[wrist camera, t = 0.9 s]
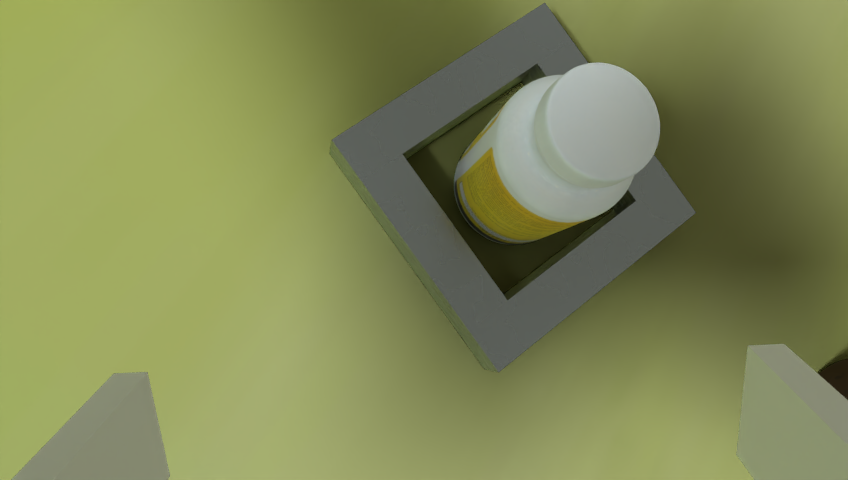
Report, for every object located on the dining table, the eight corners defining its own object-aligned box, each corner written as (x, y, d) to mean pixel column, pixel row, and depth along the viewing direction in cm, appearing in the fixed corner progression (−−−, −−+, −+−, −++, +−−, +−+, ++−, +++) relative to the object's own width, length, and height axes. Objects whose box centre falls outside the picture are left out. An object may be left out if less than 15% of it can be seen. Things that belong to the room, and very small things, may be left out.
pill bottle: (527, 269, 35) (637, 240, 23) (428, 205, 34) (491, 143, 23) (581, 172, 36) (709, 101, 25) (487, 110, 36) (573, 7, 24)
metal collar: (329, 153, 33) (331, 139, 31) (528, 24, 37) (544, 2, 34) (484, 369, 33) (498, 372, 31) (669, 220, 37) (696, 212, 34)
